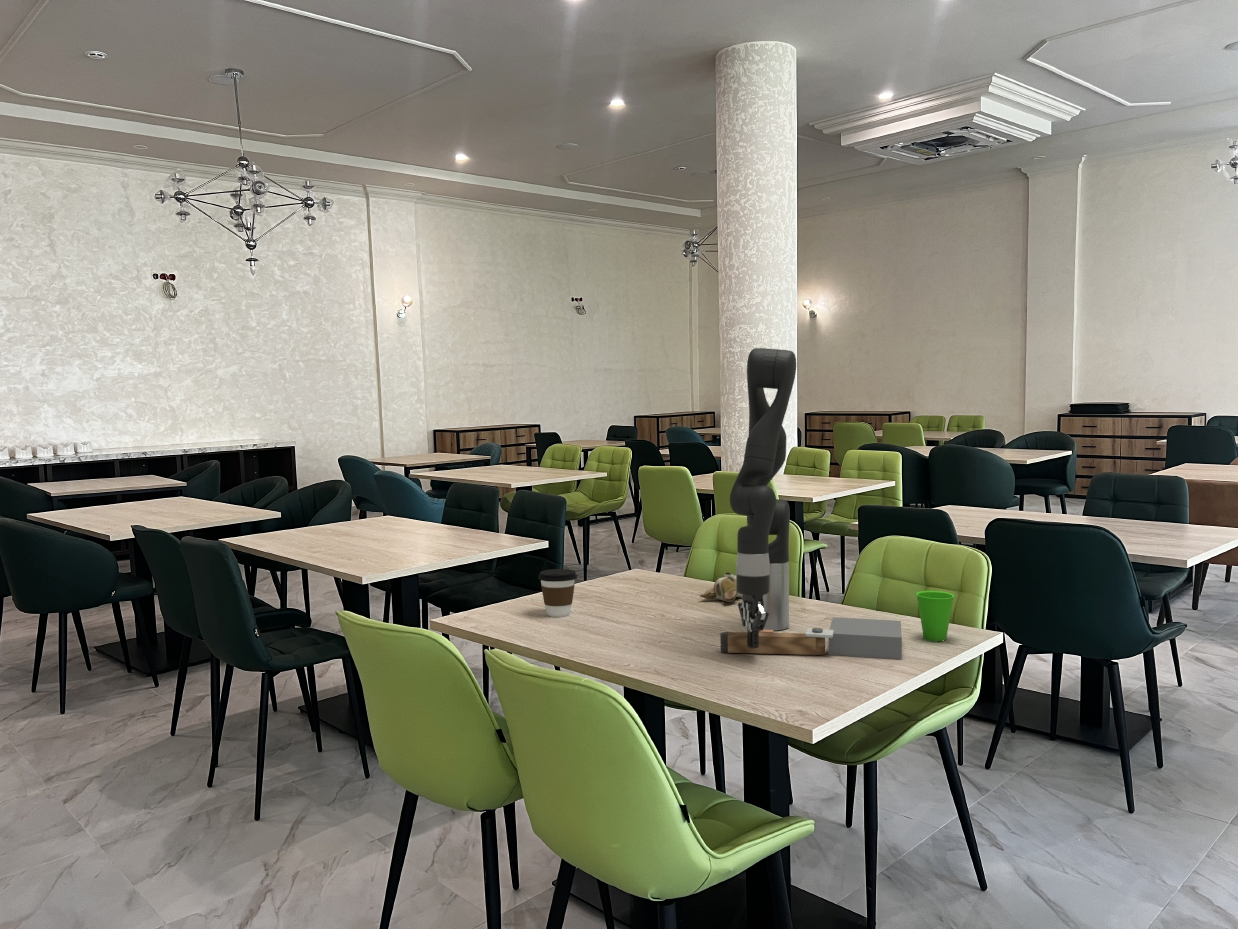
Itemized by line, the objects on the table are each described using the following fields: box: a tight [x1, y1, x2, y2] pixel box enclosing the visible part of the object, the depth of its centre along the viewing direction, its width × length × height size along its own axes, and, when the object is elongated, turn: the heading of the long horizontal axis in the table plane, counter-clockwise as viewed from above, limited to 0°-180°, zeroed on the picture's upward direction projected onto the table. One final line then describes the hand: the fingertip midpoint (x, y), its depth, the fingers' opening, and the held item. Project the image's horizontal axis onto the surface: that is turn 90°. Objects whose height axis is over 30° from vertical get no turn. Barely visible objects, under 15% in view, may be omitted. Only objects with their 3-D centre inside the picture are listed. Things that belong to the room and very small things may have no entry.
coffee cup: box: [537, 568, 578, 618], centre depth 246 cm, size 11×11×12 cm
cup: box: [915, 590, 956, 642], centre depth 215 cm, size 9×9×11 cm
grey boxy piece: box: [760, 616, 903, 660], centre depth 210 cm, size 18×35×6 cm, turn 73°
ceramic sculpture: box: [699, 572, 743, 603], centre depth 261 cm, size 11×9×15 cm
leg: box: [719, 631, 826, 656], centre depth 205 cm, size 24×4×4 cm, turn 82°
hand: (752, 647), depth 202 cm, fingers closed
